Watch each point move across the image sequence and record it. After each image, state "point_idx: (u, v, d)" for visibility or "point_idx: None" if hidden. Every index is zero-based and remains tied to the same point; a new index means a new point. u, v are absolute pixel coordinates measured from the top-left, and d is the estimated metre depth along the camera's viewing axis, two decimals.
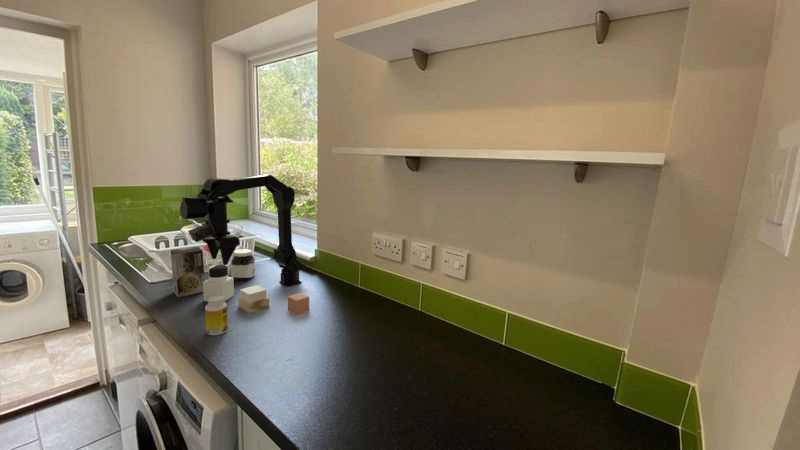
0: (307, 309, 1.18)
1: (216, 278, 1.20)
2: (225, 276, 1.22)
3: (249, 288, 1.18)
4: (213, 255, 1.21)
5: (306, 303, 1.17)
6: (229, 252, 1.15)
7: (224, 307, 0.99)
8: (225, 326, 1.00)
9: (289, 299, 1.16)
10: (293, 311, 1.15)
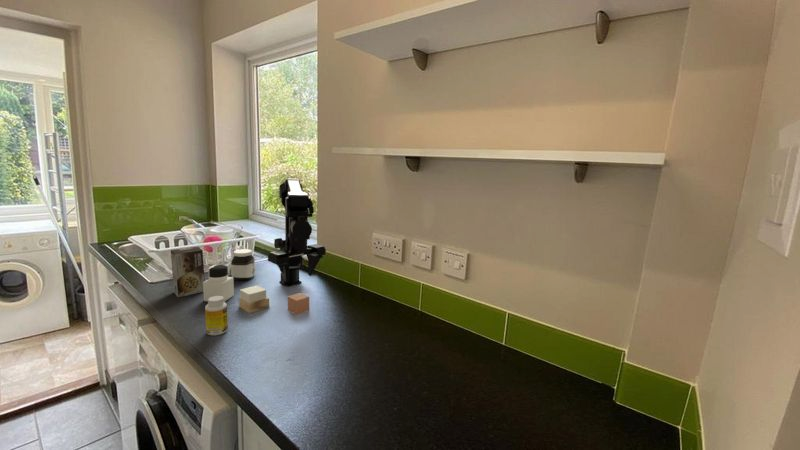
0: (307, 309, 1.17)
1: (216, 278, 1.20)
2: (225, 276, 1.22)
3: (249, 288, 1.18)
4: (308, 271, 1.19)
5: (306, 303, 1.17)
6: (283, 270, 1.10)
7: (224, 307, 0.99)
8: (225, 326, 1.00)
9: (289, 299, 1.16)
10: (293, 311, 1.15)
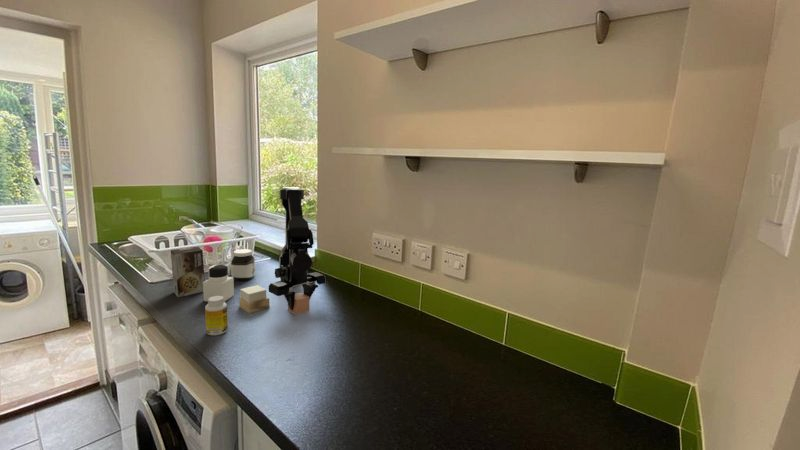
0: (307, 309, 1.17)
1: (216, 278, 1.20)
2: (225, 276, 1.22)
3: (249, 288, 1.19)
4: None
5: (306, 303, 1.17)
6: (289, 299, 1.13)
7: (224, 307, 0.99)
8: (225, 326, 1.00)
9: None
10: (293, 311, 1.15)
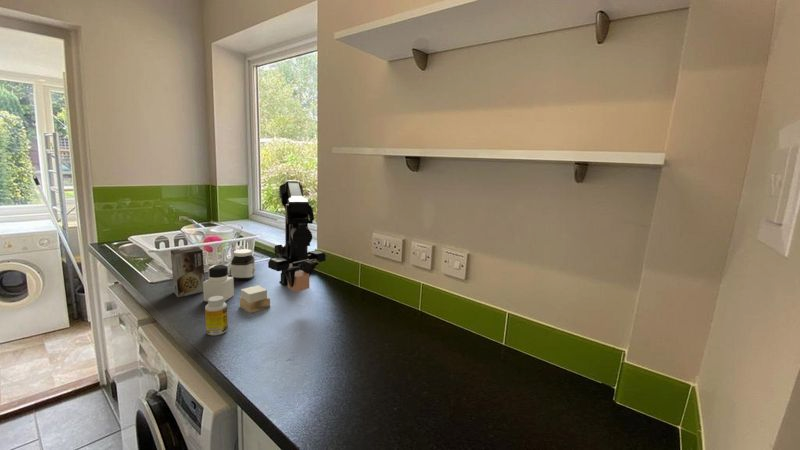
0: (307, 286, 1.16)
1: (216, 278, 1.20)
2: (225, 276, 1.22)
3: (250, 288, 1.18)
4: None
5: (306, 280, 1.15)
6: (289, 275, 1.12)
7: (224, 307, 0.99)
8: (225, 326, 1.00)
9: None
10: (293, 288, 1.14)
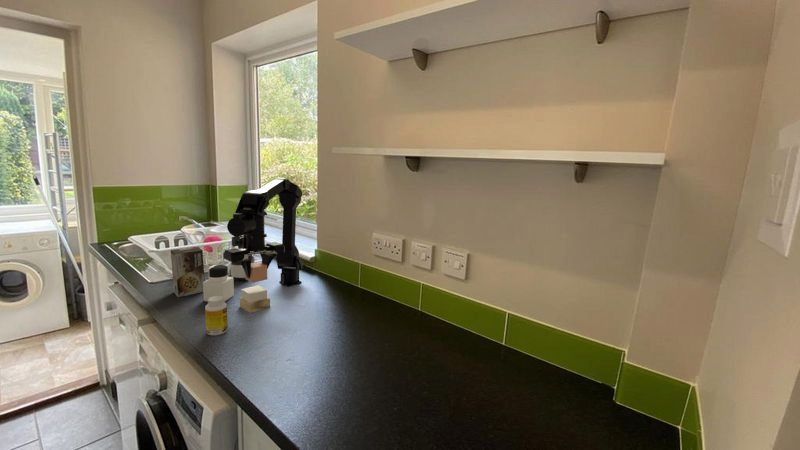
0: (265, 278, 1.17)
1: (216, 278, 1.20)
2: (225, 276, 1.22)
3: (250, 288, 1.19)
4: None
5: (264, 271, 1.16)
6: (245, 266, 1.12)
7: (224, 307, 0.99)
8: (225, 326, 1.00)
9: None
10: (250, 279, 1.14)
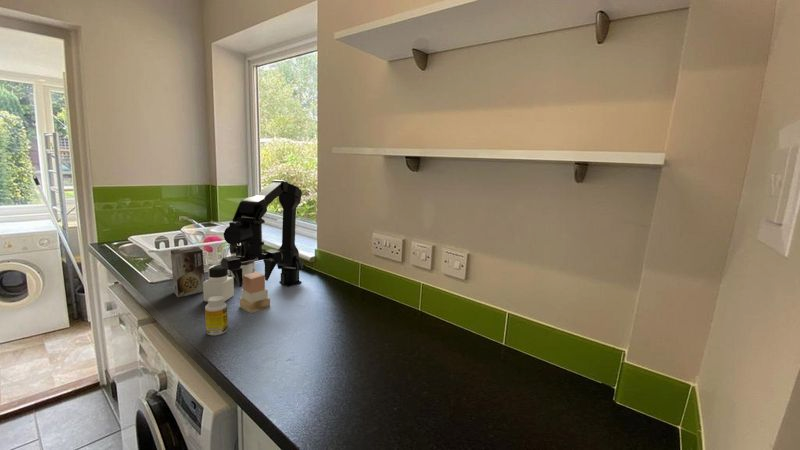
0: (263, 288, 1.18)
1: (216, 278, 1.20)
2: (225, 276, 1.22)
3: None
4: (265, 276, 1.21)
5: (261, 282, 1.17)
6: (237, 275, 1.11)
7: (224, 307, 0.99)
8: (225, 326, 1.00)
9: (244, 278, 1.16)
10: (248, 290, 1.15)
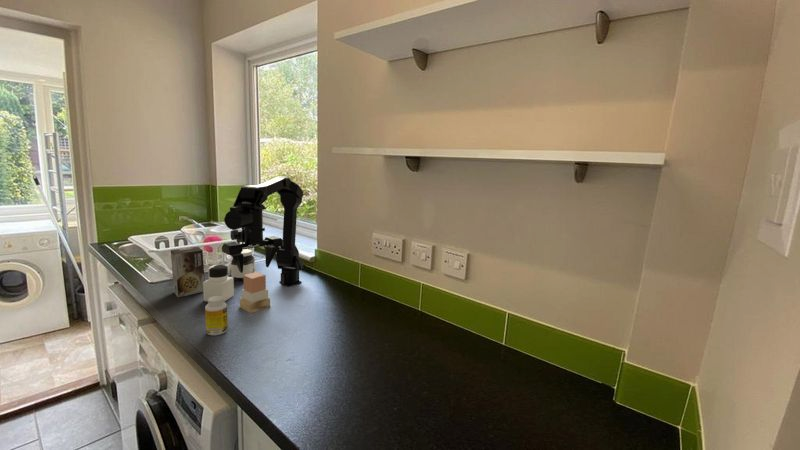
0: (264, 288, 1.18)
1: (216, 278, 1.20)
2: (225, 276, 1.22)
3: None
4: (266, 263, 1.21)
5: (262, 281, 1.17)
6: (238, 261, 1.12)
7: (224, 307, 0.99)
8: (225, 326, 1.00)
9: (245, 278, 1.16)
10: (249, 289, 1.15)
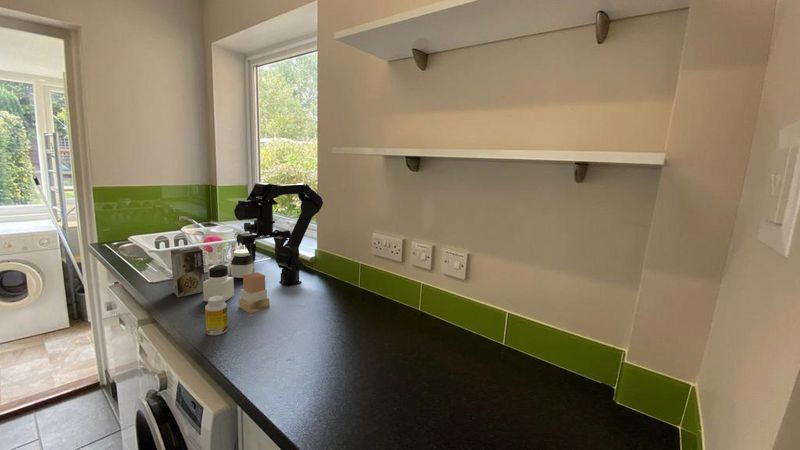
0: (263, 288, 1.17)
1: (216, 278, 1.20)
2: (225, 276, 1.22)
3: None
4: (275, 253, 1.33)
5: (262, 282, 1.17)
6: (251, 250, 1.24)
7: (224, 307, 0.99)
8: (225, 326, 1.00)
9: (244, 278, 1.16)
10: (248, 290, 1.15)
